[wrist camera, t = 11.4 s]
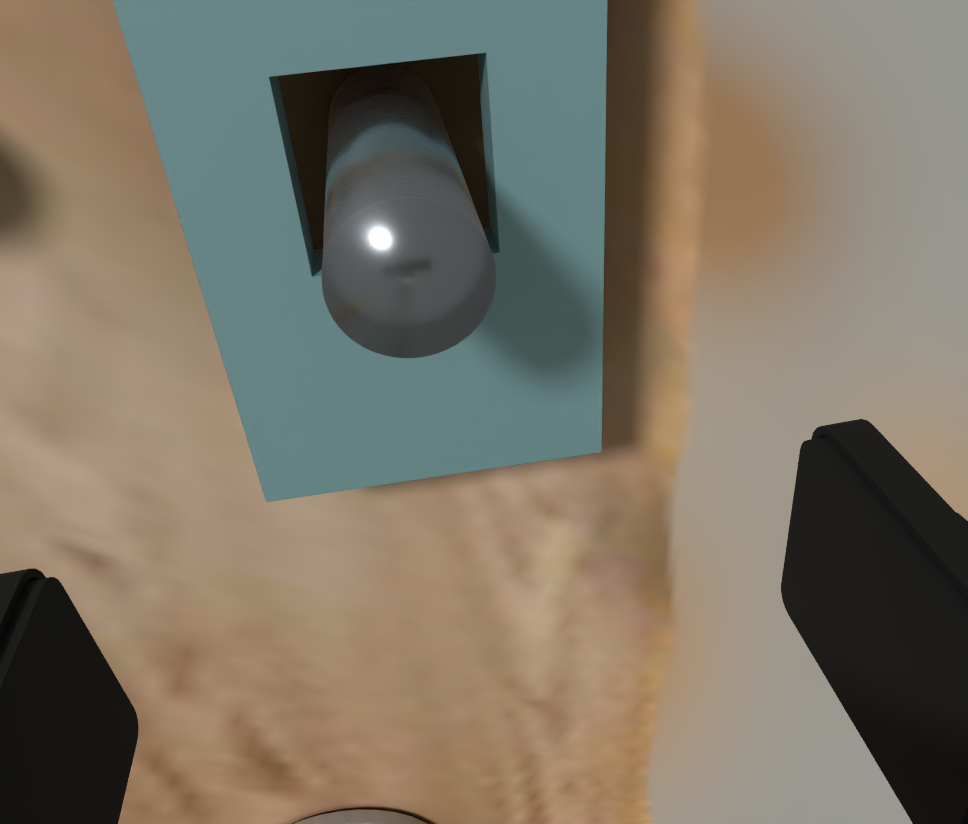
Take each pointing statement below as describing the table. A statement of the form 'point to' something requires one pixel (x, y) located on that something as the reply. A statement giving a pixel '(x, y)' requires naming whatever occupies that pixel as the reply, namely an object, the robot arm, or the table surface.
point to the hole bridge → (298, 267)
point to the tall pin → (399, 221)
